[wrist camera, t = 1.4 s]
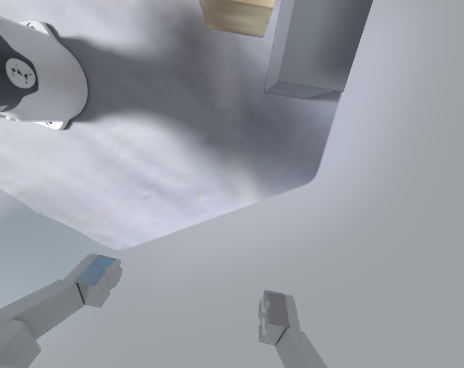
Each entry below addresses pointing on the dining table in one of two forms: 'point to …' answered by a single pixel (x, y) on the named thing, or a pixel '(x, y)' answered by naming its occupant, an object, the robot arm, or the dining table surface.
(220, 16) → the mallet
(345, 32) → the storage box
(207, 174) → the dining table surface
